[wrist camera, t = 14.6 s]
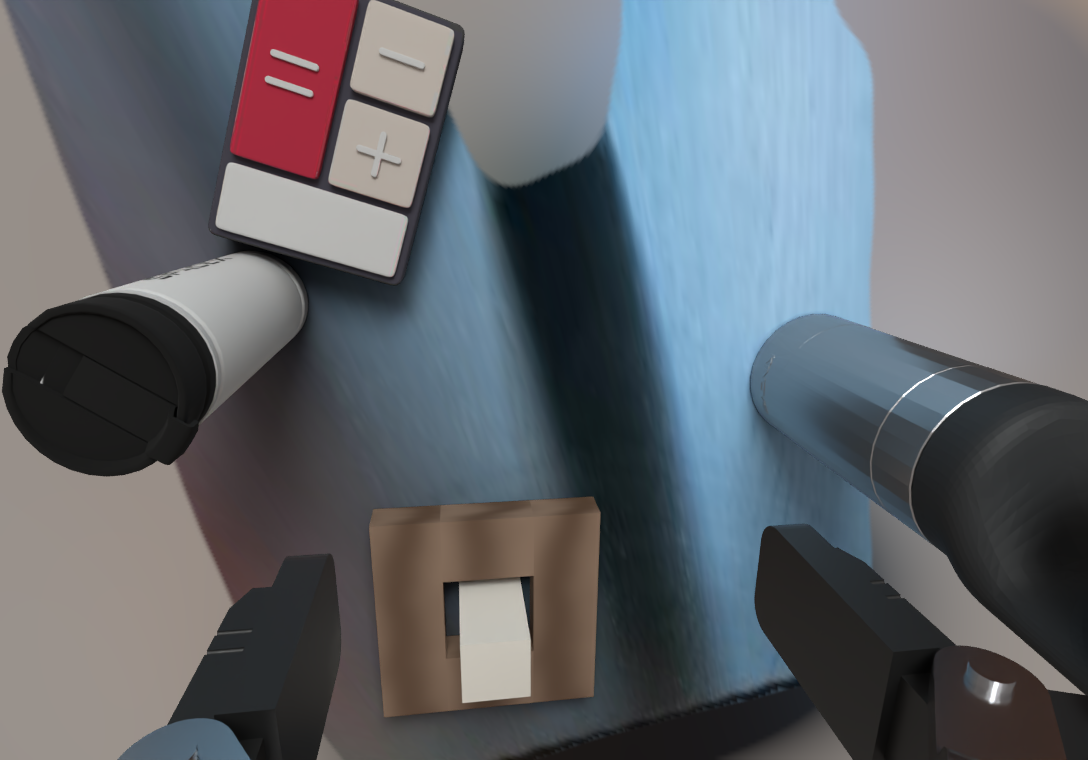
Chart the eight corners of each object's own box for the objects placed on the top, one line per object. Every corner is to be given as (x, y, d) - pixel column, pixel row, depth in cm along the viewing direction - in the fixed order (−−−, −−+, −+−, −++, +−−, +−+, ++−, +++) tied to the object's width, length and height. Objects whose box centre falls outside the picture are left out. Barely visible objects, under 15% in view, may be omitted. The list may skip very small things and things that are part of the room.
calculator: (467, 22, 35) (399, 289, 37) (464, 44, 39) (403, 282, 41) (256, -58, 32) (200, 233, 35) (278, -26, 36) (226, 232, 39)
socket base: (593, 496, 48) (600, 512, 45) (587, 673, 52) (593, 696, 50) (373, 509, 45) (369, 526, 43) (387, 692, 50) (384, 717, 48)
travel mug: (282, 369, 42) (141, 518, 23) (186, 313, 40) (-55, 425, 21) (332, 290, 41) (227, 377, 22) (235, 229, 39) (30, 267, 20)
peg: (518, 568, 49) (530, 639, 41) (518, 619, 50) (530, 696, 42) (459, 573, 48) (460, 645, 40) (460, 623, 49) (462, 703, 42)
